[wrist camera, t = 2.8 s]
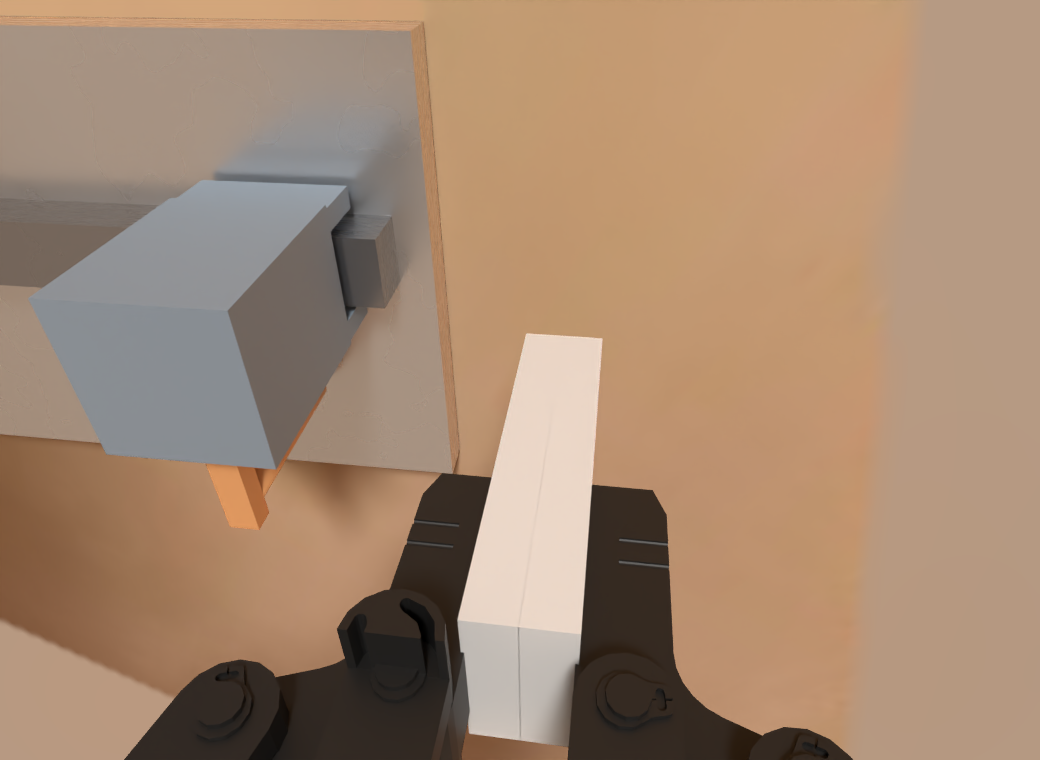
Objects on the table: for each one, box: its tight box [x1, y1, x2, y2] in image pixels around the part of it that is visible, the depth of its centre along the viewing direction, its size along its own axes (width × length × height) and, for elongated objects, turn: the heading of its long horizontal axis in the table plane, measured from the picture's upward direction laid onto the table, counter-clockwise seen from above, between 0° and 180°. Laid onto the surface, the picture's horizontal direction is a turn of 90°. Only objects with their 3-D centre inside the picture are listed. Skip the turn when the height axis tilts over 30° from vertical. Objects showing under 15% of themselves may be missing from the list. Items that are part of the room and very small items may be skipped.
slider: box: [28, 180, 368, 530], centre depth 17 cm, size 7×4×6 cm, turn 1°
